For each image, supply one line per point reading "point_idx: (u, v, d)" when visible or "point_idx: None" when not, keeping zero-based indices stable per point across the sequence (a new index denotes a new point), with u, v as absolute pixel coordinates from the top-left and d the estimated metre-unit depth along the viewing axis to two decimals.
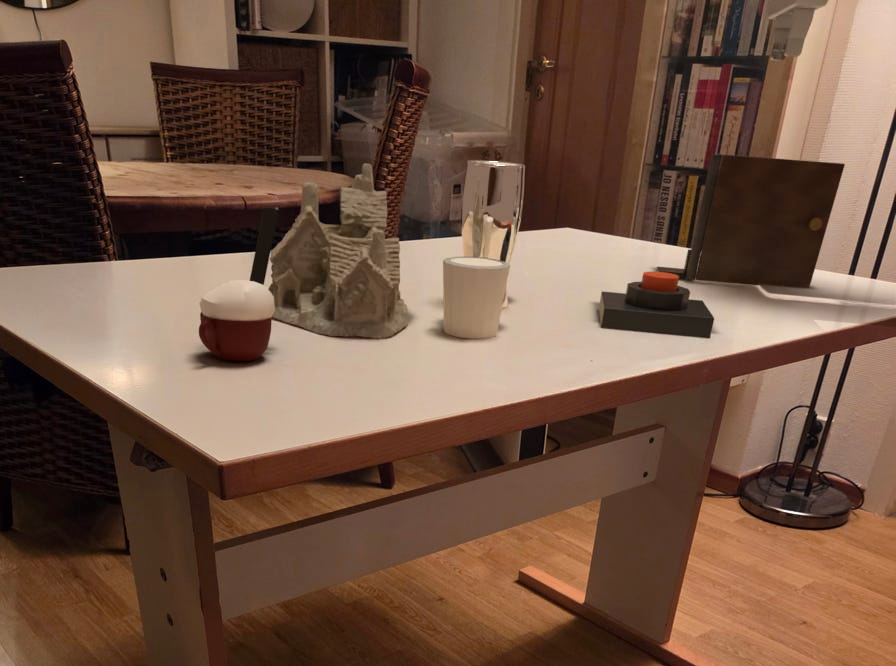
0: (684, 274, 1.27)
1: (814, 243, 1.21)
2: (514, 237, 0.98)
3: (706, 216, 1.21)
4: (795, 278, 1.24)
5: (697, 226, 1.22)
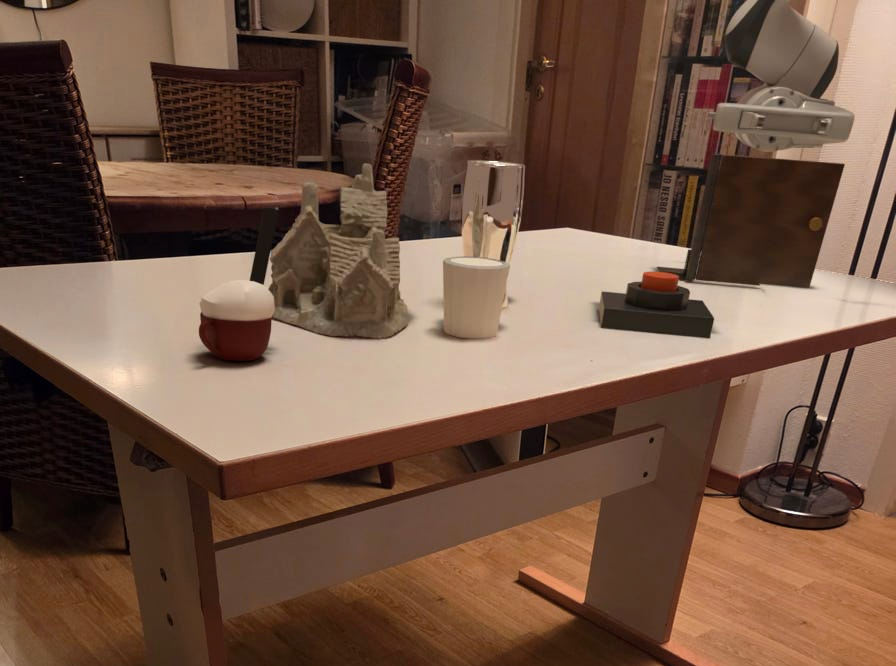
0: (684, 274, 1.27)
1: (814, 243, 1.21)
2: (514, 237, 0.98)
3: (706, 216, 1.21)
4: (795, 278, 1.24)
5: (697, 226, 1.22)
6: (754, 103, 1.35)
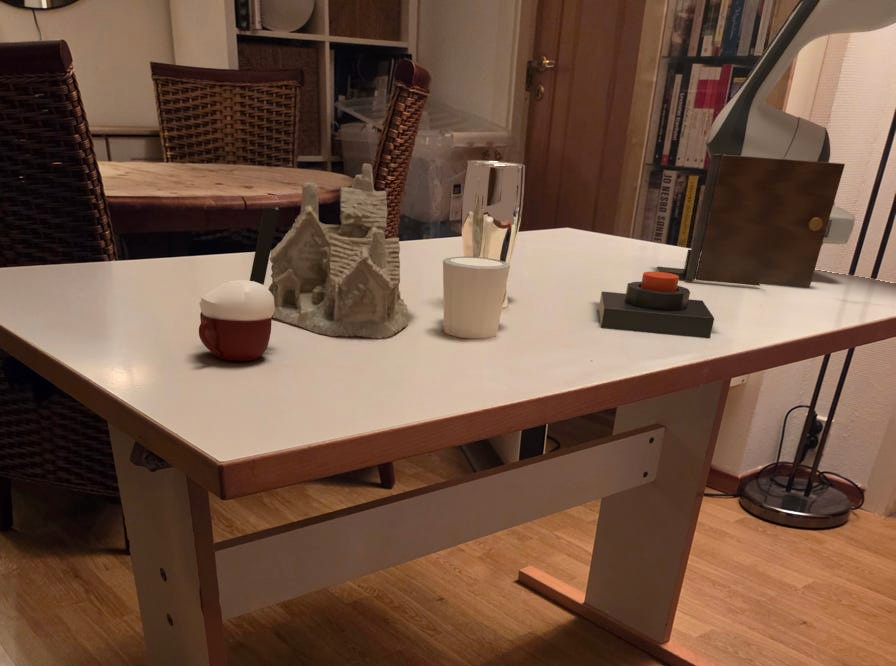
0: (684, 274, 1.27)
1: (814, 243, 1.21)
2: (514, 237, 0.98)
3: (706, 216, 1.21)
4: (795, 278, 1.24)
5: (697, 226, 1.22)
6: None
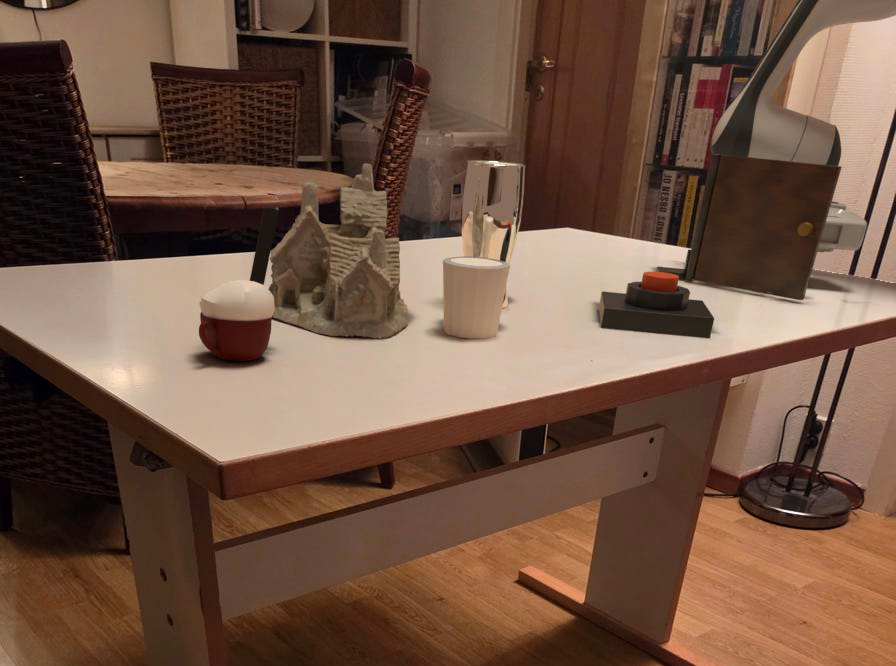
0: (684, 274, 1.27)
1: (807, 250, 1.14)
2: (514, 237, 0.98)
3: (703, 216, 1.21)
4: (787, 286, 1.17)
5: (696, 226, 1.22)
6: None
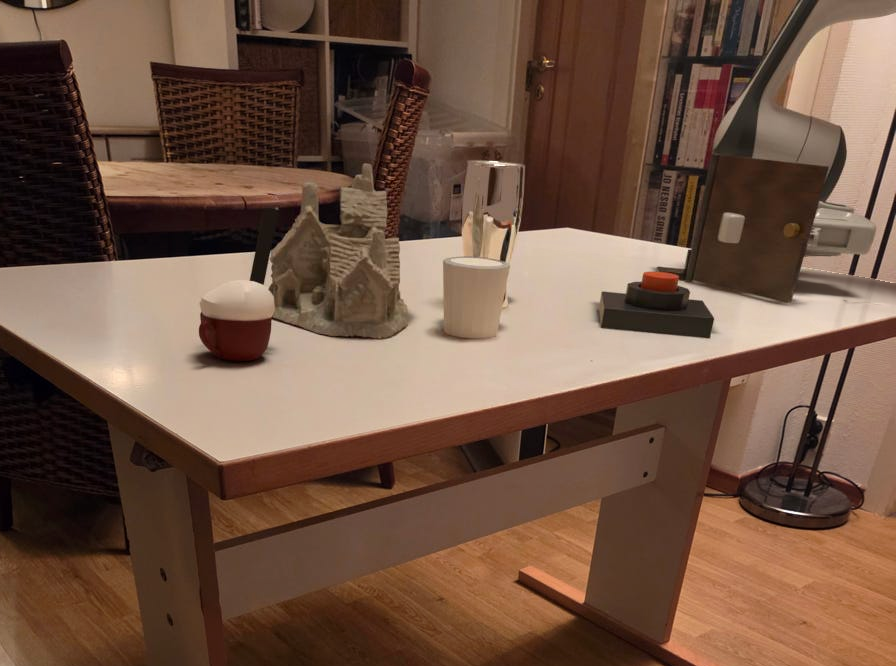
0: (684, 274, 1.27)
1: (793, 251, 1.12)
2: (514, 237, 0.98)
3: (702, 216, 1.21)
4: (775, 288, 1.15)
5: (696, 226, 1.23)
6: None
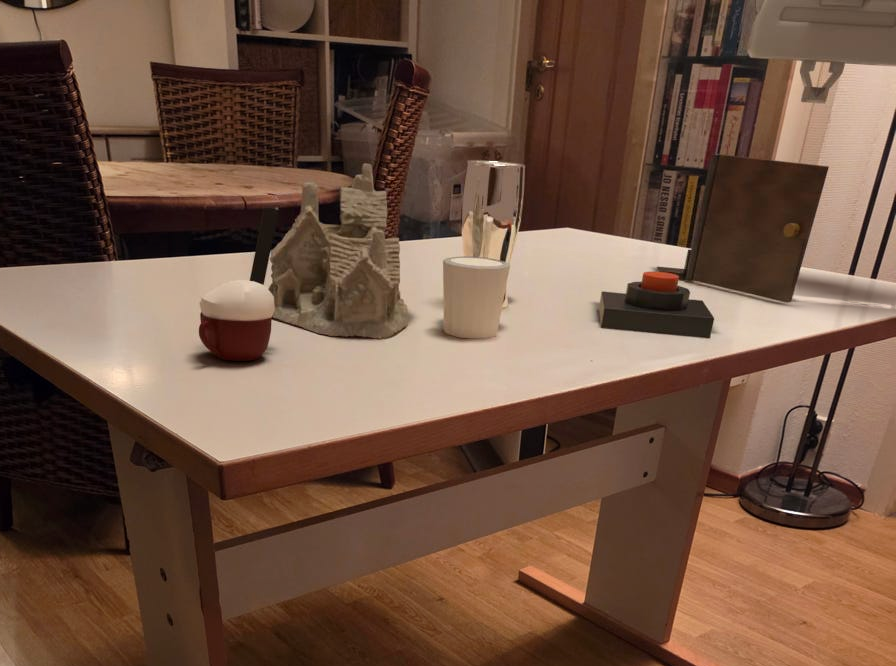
0: (684, 274, 1.27)
1: (793, 251, 1.12)
2: (514, 237, 0.98)
3: (702, 216, 1.21)
4: (775, 288, 1.15)
5: (696, 226, 1.23)
6: None
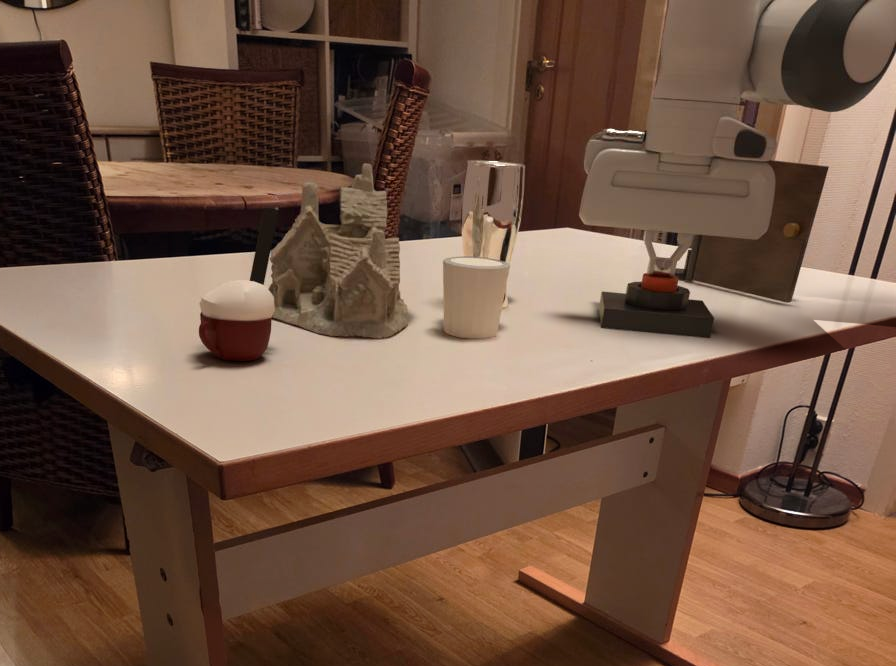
0: (684, 274, 1.27)
1: (793, 251, 1.12)
2: (514, 237, 0.98)
3: None
4: (775, 288, 1.15)
5: None
6: (651, 150, 0.90)
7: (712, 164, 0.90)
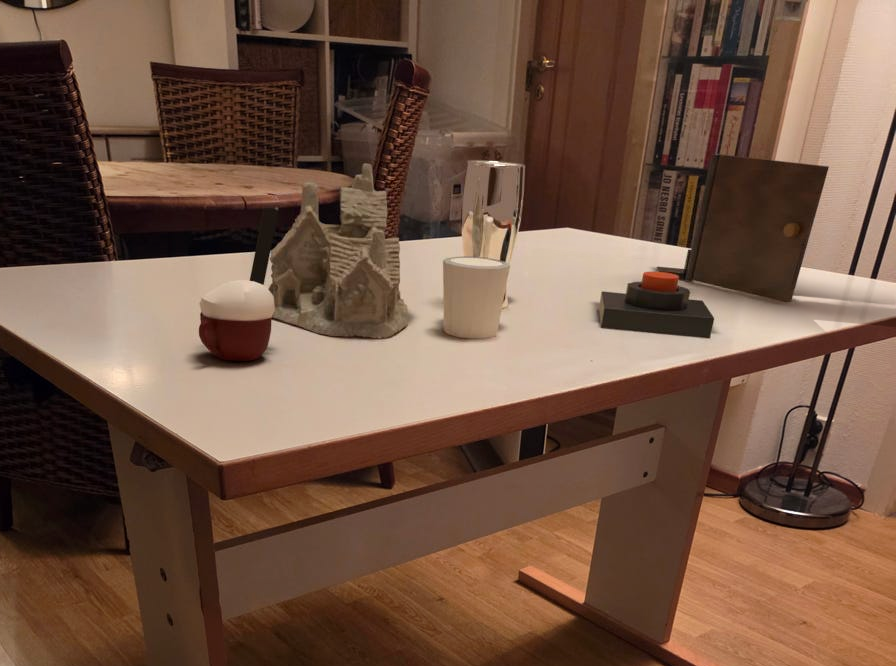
0: (684, 274, 1.27)
1: (793, 251, 1.12)
2: (514, 237, 0.98)
3: (702, 216, 1.21)
4: (775, 288, 1.15)
5: (696, 226, 1.23)
6: None
7: None
